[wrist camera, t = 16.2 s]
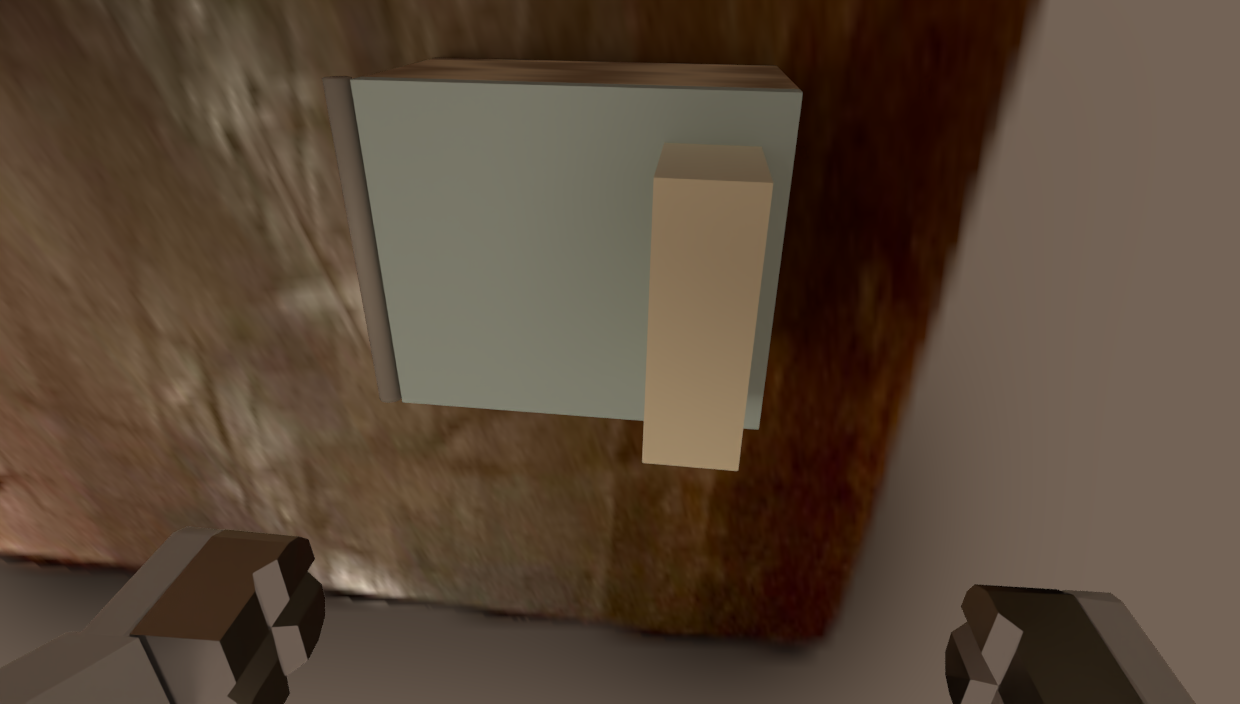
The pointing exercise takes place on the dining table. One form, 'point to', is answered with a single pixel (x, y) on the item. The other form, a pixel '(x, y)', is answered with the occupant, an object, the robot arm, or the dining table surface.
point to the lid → (530, 231)
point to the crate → (595, 72)
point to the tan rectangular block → (703, 301)
